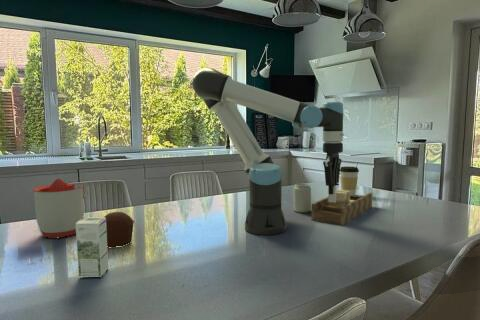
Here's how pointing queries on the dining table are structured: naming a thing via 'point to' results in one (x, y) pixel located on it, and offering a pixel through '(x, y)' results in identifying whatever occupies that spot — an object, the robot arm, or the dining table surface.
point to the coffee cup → (349, 179)
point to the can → (302, 198)
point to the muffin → (118, 229)
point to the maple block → (341, 198)
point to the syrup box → (92, 246)
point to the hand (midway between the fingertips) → (332, 201)
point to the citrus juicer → (58, 208)
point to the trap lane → (340, 210)
